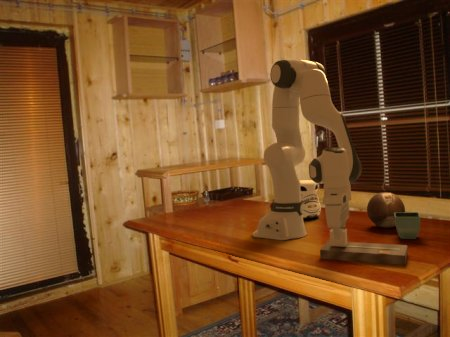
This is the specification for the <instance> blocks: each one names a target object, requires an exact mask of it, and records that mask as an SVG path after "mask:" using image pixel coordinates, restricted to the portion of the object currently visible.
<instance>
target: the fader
mask: <svg viewBox="0 0 450 337" xmlns="http://www.w3.org/2000/svg"><path fill="white" fill-rule="evenodd" d="M339 230H340V237H341V238H340V239H339V240H335V239H334V233H333V230H332V228H330V229H329V241H330V246H342V247H345V246H346V245H347V244H348V243H347V242H348V229H347V228H345V229H339Z"/></svg>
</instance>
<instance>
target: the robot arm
mask: <svg viewBox="0 0 450 337" xmlns="http://www.w3.org/2000/svg"><path fill="white" fill-rule="evenodd" d="M325 70H326V69H325V67H324V65H323V64H321V63H319V62H317V61H314V60H312V61H311V60H304V59H290V60H289V59H288V60H287V59H280V60H277V61H276V62H274V63H273V65H272V66H271V68H270V75H269V76H270V81H271V83H272V85H273V86H274V88H273V93H272V101H271V127H272V129H273V131H274V134H275V138H276V142H275V143H273V144H270V145H269V146H267V147H266V149H265V150H264V152H263V161H264V164H265V165H266V167H267V168H268V169H269V173H270V175H271V181H272V186H273V199H274V201H272V202H271V203H270V204H269V205H268V208H270V211H269V212H267V213H266V214H265V215H264V216H263V217H261V218H260V219H259V220H258V224H257V229H256V230H255V231H254V232H252V237H254V238H259V239H260V238H262V239H270V240H276V241H277V240H278V241H287V240H292V239H299V238H303V237H306V236H307V235H308V233H307V230H306V227H305V223H304V219H303V216H302V214H303V205H302V201H301V188H300V181H299V178H298V175H297V173H296V168H295V167H297V166H298V165H300V164H301V163H302V162H303V161H304V160H305V158H306V149H305V148H304V145H303V140H302V136H301V135H302V134H301V130H300V129H301V128H300V112H301V113H302V116H303V118H304V119H305V120H306V121H308V122H309V123H311V124H312V125H316V126H320V127H323V128H324V129H328V130H329V131H331V132H332V133H333V134H334V136H335V139H336V143H337V146H330V147H329V146H328V147H326V148H324V149H323V150H322V153H321V155H319V156H318V157H316V158H313V159H312V160H311V161H310V163H309V164H308V175H309V178H310V180H313V181H314V182H315V183H317V184H318V185H319V184H320V185H322V184H323V197H322V205H325V206H324V211H325V220H326V225H327V227H328V228H329V229H332V230H333V233H334V239H335V240H339V239H340V238H341V237H340V230H339V229H346V225H347V219H348V218H349V217H350V208H349V207H350V206H349V201H352V187H351V183H355V182H356V181H357V180H358V179H359V177H360V176H362V175H361V174H362V173H363V165H362V163H361V160H360V158H359V156H358V153H357V152H356V149H355V146H354V143H353V140H352V137H351V134H350V131H349V127H348V125H347V122H346V118H345V117H344V115H343V114H342V112H341V111H338V109H337V108H336V107H335V105H334V104H333V102H332V98H331V91H330V87H329V83H328V80H327V78H326V77H327V76H326V71H325ZM300 110H301V111H300Z"/></svg>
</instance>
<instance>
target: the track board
mask: <svg viewBox="0 0 450 337" xmlns="http://www.w3.org/2000/svg"><path fill="white" fill-rule="evenodd" d="M347 243H348V244H347V245H346V246H345V247H342V246H330V240H327V242H326V243H325V244H323V246H322V247H321V248H320V250H319V252H320V254H319V256H320V260H331V261H332V260H333V261H343V262H344V261H345V262H358V263H359V262H360V263H369V264H370V263H372V264H384V265H385V264H387V265H397V266H406V265H407V260H408V255H407V254H408V253H409V252H408V245H407V244H392V243H391V244H390V243H373V242H372V243H370V242H355V241H347Z"/></svg>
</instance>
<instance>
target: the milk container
mask: <svg viewBox="0 0 450 337" xmlns="http://www.w3.org/2000/svg"><path fill="white" fill-rule="evenodd" d="M298 180H299V179H298ZM299 181H300V188H301V201H302V205H303V214H302V216H303V220H311V219H315V218H318V217H319V216H320V214H321V211H322V208H321V203H320V199H319V183H315V182H314V181H313V180H312V179H309V180H308V179H305V180H303V179H302V180H301V179H300V180H299Z"/></svg>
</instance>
